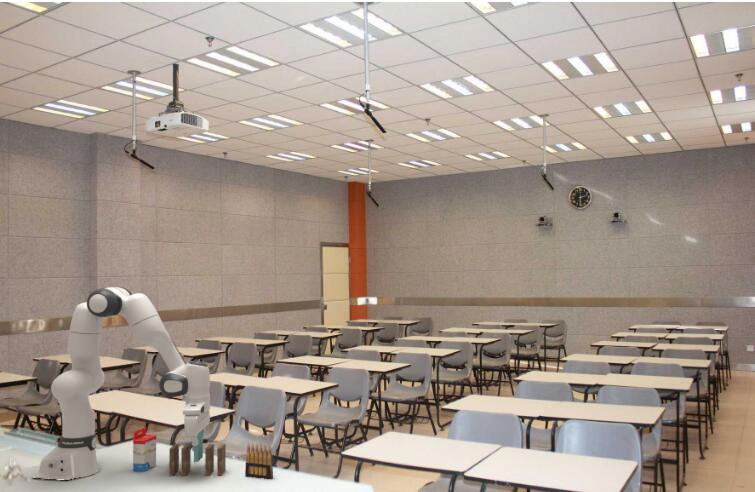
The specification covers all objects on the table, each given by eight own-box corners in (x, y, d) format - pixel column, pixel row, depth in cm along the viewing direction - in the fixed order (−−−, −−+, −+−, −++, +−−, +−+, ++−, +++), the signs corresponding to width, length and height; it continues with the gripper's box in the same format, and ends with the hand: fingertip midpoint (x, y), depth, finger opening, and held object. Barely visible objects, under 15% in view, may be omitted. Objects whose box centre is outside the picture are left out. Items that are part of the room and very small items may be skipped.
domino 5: (217, 475, 231) (217, 448, 232) (221, 470, 237) (221, 443, 238) (221, 475, 231) (221, 448, 232) (225, 470, 237) (225, 443, 238)
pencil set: (244, 476, 230) (244, 443, 231) (247, 475, 232) (247, 442, 233) (270, 479, 227) (270, 446, 227) (273, 478, 228) (273, 444, 229)
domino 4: (205, 476, 231) (205, 448, 232) (209, 470, 237) (209, 444, 238) (209, 476, 231) (209, 448, 232) (213, 470, 237) (213, 443, 238)
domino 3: (193, 461, 232) (193, 434, 232) (198, 457, 238) (198, 430, 238) (198, 461, 232) (198, 434, 232) (202, 456, 238) (202, 430, 238)
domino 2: (181, 476, 231) (181, 448, 232) (186, 471, 237) (186, 444, 238) (185, 476, 231) (185, 448, 232) (190, 471, 237) (190, 444, 238)
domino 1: (169, 476, 231) (169, 448, 232) (174, 471, 237) (174, 444, 238) (173, 476, 231) (173, 448, 232) (178, 471, 237) (178, 444, 238)
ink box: (144, 472, 237) (144, 432, 237) (132, 471, 238) (132, 432, 238) (156, 465, 245) (156, 427, 246) (145, 464, 246) (145, 426, 247)
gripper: (197, 399, 246) (197, 435, 245) (181, 411, 225) (181, 450, 225) (213, 399, 246) (213, 435, 245) (198, 411, 225) (199, 450, 225)
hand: (198, 442), depth 235 cm, fingers closed on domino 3, 6 cm apart
